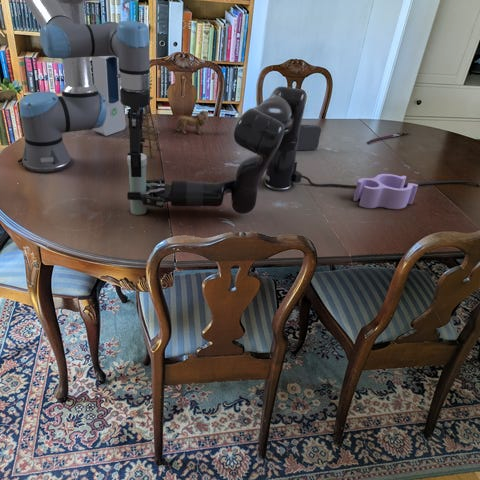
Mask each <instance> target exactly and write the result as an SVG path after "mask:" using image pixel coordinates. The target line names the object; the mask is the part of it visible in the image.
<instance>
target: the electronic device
mask: <svg viewBox="0 0 480 480" xmlns="http://www.w3.org/2000/svg"><path fill="white" fill-rule="evenodd" d="M91 59H92V61H91V63H92V77H93V85H95V86H96V87H97V88H98V92H99V93H101V94H102V95H103V96H104V98H105V103H106V108H107V114H106V120H105V122H104V124H103V125H102V126H101V127H99V128H95V129H92V131H94V133H96V134H99V135H102V136H105V137H107V136H110V135H112V134H113V135H114V134H117V133H119V132H121V131H124V130H125V129H126V127H127V123H126V114H125V107H124V106H125V105H123V104H122V103H121V101H120V89H121V87H120V78H118V77H117V74H120V73H119V59H118V57H116V56H99V57H91Z"/></svg>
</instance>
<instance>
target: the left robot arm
mask: <svg viewBox="0 0 480 480" xmlns="http://www.w3.org/2000/svg"><path fill="white" fill-rule="evenodd" d="M23 1H24V3H25V4H26V5H27V7H28V9H29V11H30V12H31V13H32V15H33V17H34V19H35V20H36V22H37V23H38V25H39V26H40V30H39V39H40V44H41V48H42V50H43V53H44V55H45V56H46V57H48V58H50V59H60V60H61V61H62V68H63V76H64V82H65V83H64V86H63V87H62V88H61V95H60V96H59V95H58V94H57V93H56V92H54V91H45V90H44V91H43V90H41V91H36V92H32V93H28V94H26V95H24V96H23V97H22V98H21V99H20V100H19V103H18V104H19V116H20V119H21V125H22V132H23V137H24V148H23V153H22V157H20V159H18V160H17V163H18V164H20V163H22V166H23V168H24V169H25V170H27V171H29V172H33V173H39V174H46V173H56V172H61V171H63V170H66V169H67V168H69V167H70V166H71V163H72V159H71V155H70V153H69V151H68V150H67V149H68V148H67V147H66V145H65V143H64V140H63V134H64V133H71V132H81V131H93V129H95V128H99V127H101V126H102V125H103V124H104V122H105V120H106V114H107V108H106V103H105V98H104V96H103V95H102V94H101V93H99V92H98V88H97V87H96V86H95V85H94V81H93V72H92V65H91V58H92V57H99V56H116V57H118V67H119V74H117V77H118V78H119V87H120V101H121V103H122V104H123V106H125V107H128V110H127V119H128V129H129V132H128V133H129V152H128V153H127V156H128V155H129V156H131V177H141V153H142V154H144V147H143V145H144V143H145V142H146V139H142V137H143V138H144V134H143V133H144V132H142V131H143V126H142V125H144V120H143V119H144V114H145V112H144V109H143V110H142V107H145V106H148V105H151V100H150V97H151V92H150V91H151V89H150V90H149V88H150V87H151V85H150V83H151V82H150V80H151V79H150V77H151V75H150V73H151V70H150V44H151V39H150V32H149V30H150V29H149V26H148V25H147V24H146V22H145V23H144V22H140V21H135V20H123V21H119V22H115V21H109V20H108V21H103V22H101V23H94V24H93V23H91V24H89V23H87V20H86V19H87V18H86V9H85V2H86V1H87V0H23Z"/></svg>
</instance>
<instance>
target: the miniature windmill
mask: <svg viewBox="0 0 480 480" xmlns="http://www.w3.org/2000/svg"><path fill="white" fill-rule="evenodd" d="M152 77H153V76H152V73H151V72H150V88H149V90H150V93H151V90H152V87H151V86H152V85H153V82H152V81H153V79H152ZM151 82H152V83H151ZM153 99H154V97H153V96H150V101H152V100H153ZM144 109H145V113H144V115H143V117H146V118H143V121H146V125H144V124H142V127H144V128H145V127H146V128H147V131H146V130H142V132H143V133H146V134H147V137H144V136H143V137H142V139H145V140H148V144H149V145H144V144H143V148H148V149H149V157H150V158H153V149H152V148H153V147H154V146H155V145H156V148H157V150H160V145H159V139H158V137H157V133H156V127H155V122H154V119H153V116H154V115H153V114H152V110H151V104H149V105H148V106H145V107H142V110H144ZM148 113H149V114H148ZM149 121H151V126H150V122H149ZM150 129H151V130H150ZM152 132H153V135H154V138H151V133H152ZM152 141H155V142H154V143H153V144H152Z"/></svg>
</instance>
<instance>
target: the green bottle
mask: <svg viewBox="0 0 480 480" xmlns="http://www.w3.org/2000/svg"><path fill="white" fill-rule="evenodd" d="M128 179H129V180H128V181H129V185H130V190H129V192H141V193H142V192H146V180H147V164H146V165H145V166H143V167H141V177H131V166H129V165H128ZM129 203H130V206H129V207H130V213H131V214H132V215H136V216H141V215H144V214H146V213H147V211H148V210H147V207H148V205H143V202H142V201H141V200H129Z"/></svg>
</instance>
